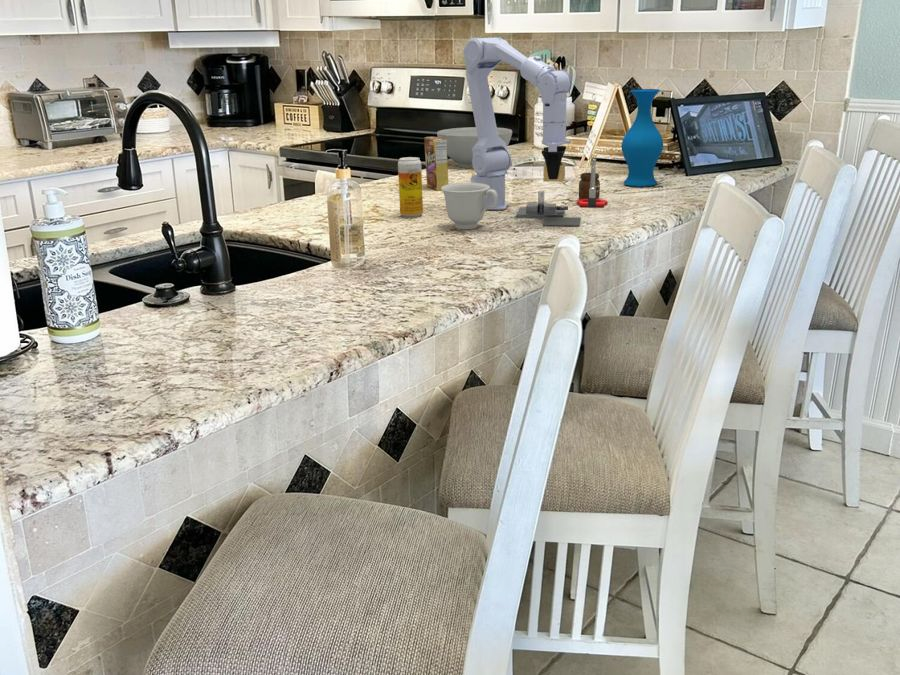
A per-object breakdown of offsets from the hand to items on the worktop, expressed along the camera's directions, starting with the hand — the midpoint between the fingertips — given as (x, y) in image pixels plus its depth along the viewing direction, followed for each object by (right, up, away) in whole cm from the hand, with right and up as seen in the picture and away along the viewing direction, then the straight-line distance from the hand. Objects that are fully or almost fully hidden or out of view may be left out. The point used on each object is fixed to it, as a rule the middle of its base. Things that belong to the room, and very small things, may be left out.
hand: (553, 177), depth 212 cm
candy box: (-30, +6, +50) cm, 59 cm away
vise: (-2, -8, +9) cm, 12 cm away
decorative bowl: (-17, +22, +91) cm, 95 cm away
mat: (+2, -11, -1) cm, 12 cm away
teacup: (-21, -13, -3) cm, 25 cm away
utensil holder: (+13, -1, +28) cm, 31 cm away
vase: (+32, +6, +46) cm, 57 cm away
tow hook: (+13, -4, +20) cm, 24 cm away
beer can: (-36, -8, +12) cm, 39 cm away
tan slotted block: (0, -1, 0) cm, 1 cm away
